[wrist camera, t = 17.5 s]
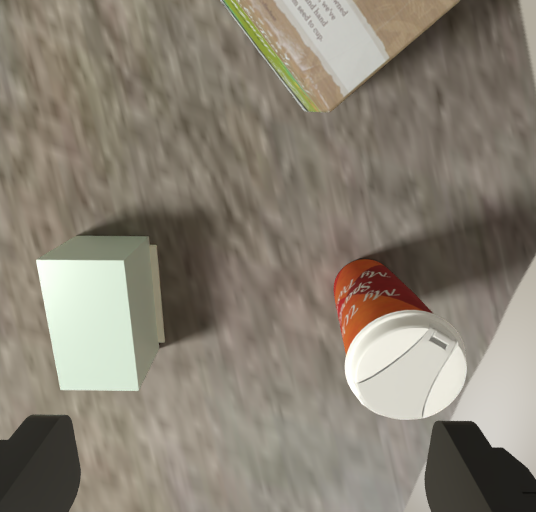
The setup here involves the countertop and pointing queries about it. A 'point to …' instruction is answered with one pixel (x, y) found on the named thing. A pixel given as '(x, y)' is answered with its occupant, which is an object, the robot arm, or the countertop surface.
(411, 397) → the paper cup
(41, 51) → the countertop surface
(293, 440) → the countertop surface
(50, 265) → the mint green rectangular block
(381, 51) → the tea box
